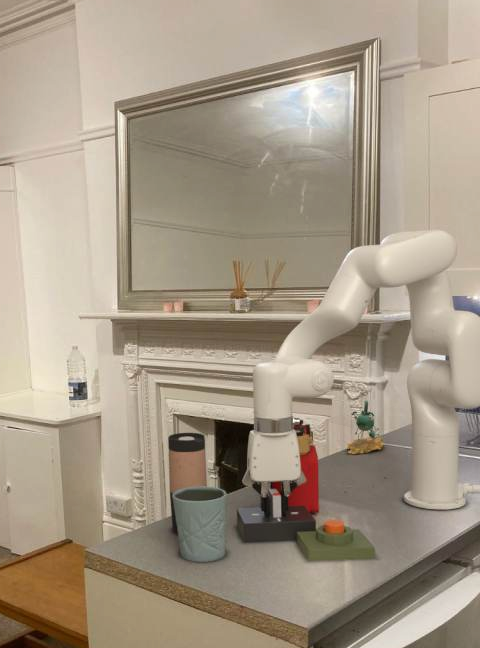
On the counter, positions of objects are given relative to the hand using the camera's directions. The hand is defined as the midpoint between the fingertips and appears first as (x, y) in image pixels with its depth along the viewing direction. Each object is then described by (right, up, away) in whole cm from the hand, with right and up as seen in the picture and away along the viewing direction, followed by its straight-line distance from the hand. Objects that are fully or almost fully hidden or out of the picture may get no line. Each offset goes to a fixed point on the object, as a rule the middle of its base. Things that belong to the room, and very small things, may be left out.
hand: (274, 513), depth 164 cm
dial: (0, 0, 0) cm, 0 cm away
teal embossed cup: (-16, -7, -9) cm, 19 cm away
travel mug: (-17, -5, +5) cm, 18 cm away
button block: (+9, -5, -11) cm, 15 cm away
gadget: (0, -4, +1) cm, 4 cm away
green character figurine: (+41, +8, +67) cm, 79 cm away
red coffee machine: (+8, -2, +16) cm, 18 cm away
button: (+9, -2, -11) cm, 14 cm away
